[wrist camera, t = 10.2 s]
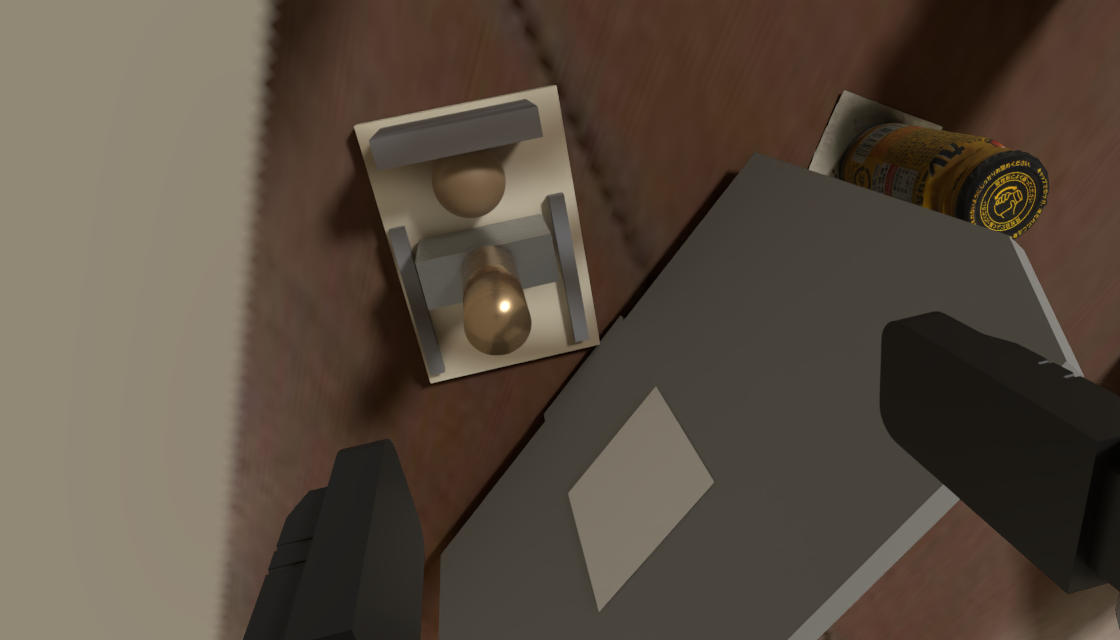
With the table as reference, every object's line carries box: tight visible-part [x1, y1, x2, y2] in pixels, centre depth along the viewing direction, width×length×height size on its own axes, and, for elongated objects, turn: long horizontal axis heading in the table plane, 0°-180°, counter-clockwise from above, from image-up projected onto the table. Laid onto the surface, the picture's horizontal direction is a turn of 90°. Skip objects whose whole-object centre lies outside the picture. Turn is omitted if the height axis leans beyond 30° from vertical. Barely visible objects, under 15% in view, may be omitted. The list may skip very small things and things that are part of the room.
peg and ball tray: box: [354, 85, 600, 383], centre depth 40 cm, size 18×12×7 cm
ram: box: [415, 214, 560, 356], centre depth 36 cm, size 3×8×13 cm, turn 100°
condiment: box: [808, 90, 1049, 240], centre depth 40 cm, size 7×8×12 cm
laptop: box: [439, 152, 1084, 640], centre depth 41 cm, size 38×29×28 cm
